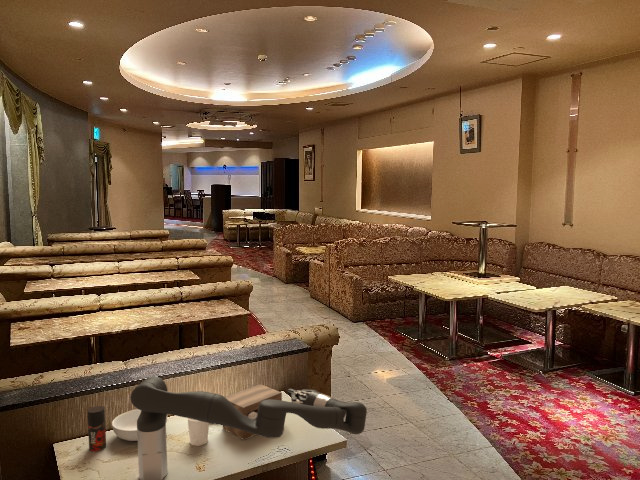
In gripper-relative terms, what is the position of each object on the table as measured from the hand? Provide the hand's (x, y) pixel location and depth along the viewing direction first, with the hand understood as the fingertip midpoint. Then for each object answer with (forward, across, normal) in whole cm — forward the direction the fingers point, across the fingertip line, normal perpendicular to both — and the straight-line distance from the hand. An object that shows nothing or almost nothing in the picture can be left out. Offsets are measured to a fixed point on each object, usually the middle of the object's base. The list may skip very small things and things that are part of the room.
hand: (288, 391), depth 194 cm
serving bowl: (+44, +40, +19) cm, 62 cm away
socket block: (+16, +5, +18) cm, 24 cm away
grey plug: (+13, +11, +12) cm, 21 cm away
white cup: (+21, +28, +18) cm, 39 cm away
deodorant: (+46, +56, +19) cm, 75 cm away
